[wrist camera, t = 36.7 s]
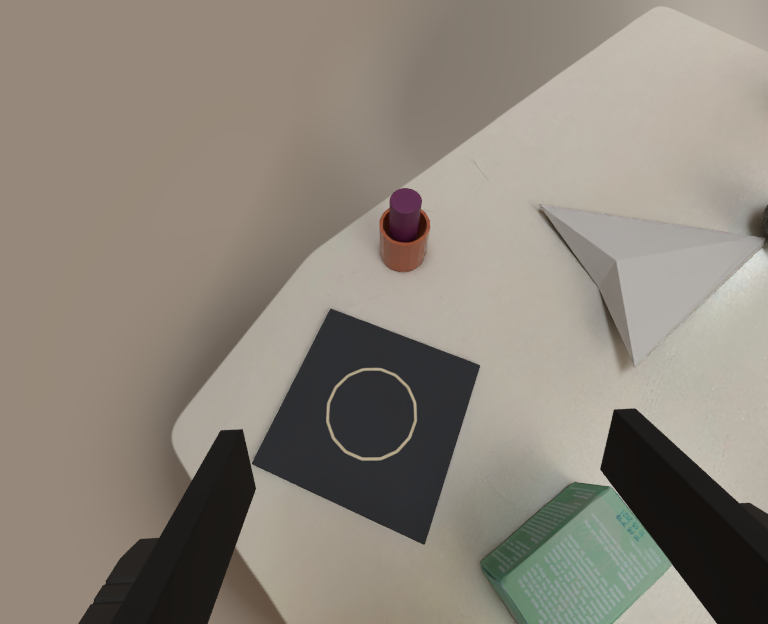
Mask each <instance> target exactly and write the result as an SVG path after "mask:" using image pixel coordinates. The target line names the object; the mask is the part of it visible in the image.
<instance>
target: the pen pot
mask: <svg viewBox="0 0 768 624" xmlns="http://www.w3.org/2000/svg"><path fill="white" fill-rule="evenodd" d="M389 217H390V208H389V209H388V210H386V211H385V212H384V213H383V215H382V217H381V219H380V255H381V258H382V261H383V262H384V264H385V265H386V266H387V267H389V268H390V269H392V270H395V271H399V272H407V271H411V270H414V269H415V268H417V267H418V266H419V265H420V264H421V263H422V262H423V260H424V256H425V253H426V248H427V242H428V237H429V231H430V220H429V218H428V216H427V215H426V213H425V212H424V211H423V210H421V211H420V219H419V226H418V233H417V240H416V241H413V242H410V243H401V242H398V241H395V240H392V239H391V238H390V237H389Z"/></svg>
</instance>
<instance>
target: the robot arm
mask: <svg viewBox="0 0 768 624" xmlns="http://www.w3.org/2000/svg"><path fill="white" fill-rule="evenodd" d="M600 470H601V471H602V472H603V474H604V475H605V476H606V478H607V479H608V480H609V482H610V483H611V484H612V486H613V487H614V488H615V490H616V491H617V492H618V494H619V495H620V496H621V497H622V499H623V500H624V501H625V503H626V504H627V505H628V507H629V508H630V509H631V511H632V512H633V513H634V515H635V516H636V517H637V519H638V520H639V521H640V523H641V524H642V525H643V527H644V528H645V529H646V530H647V532H648V533H649V534H650V536H651V537H652V538H653V540H654V541H655V542H656V544H657V545H658V546H659V548H660V549H661V550H662V552H663V553H664V554H665V556H666V557H667V558H668V559H669V561H670V562H671V563H672V565H673V566H674V567H675V569H676V570H677V571H678V573H679V574H680V575H681V577H682V578H683V579H684V581H685V582H686V583H687V585H688V586H689V587H690V589H691V590H692V591H693V592H694V594H695V595H696V596H697V598H698V599H699V600H700V602H701V603H702V604H703V606H704V607H705V608H706V610H707V611H708V612H709V614H710V615H711V616H712V618H713V619H714V620H715V621H716V623H717V624H768V514H767V513H765V512H764V511H762V510H760V509H759V508H757V507H756V506H754V505H752V504H751V503H738V502H737V501H736V500H735V499H734V498H733V497H732V496H731V495H730V494H729V493H727V492H726V491H725V490H724V489H723V488H722V487H721V486H720V485H719V484H718V483H716V482H715V481H714V480H713V479H712V478H711V477H710V476H709V475H708V474H707V473H706V472H704V471H703V470H702V469H701V468H700V467H699V466H698V465H697V464H696V463H695V462H693V461H692V460H691V459H690V458H689V457H688V456H687V455H686V454H685V453H684V452H683V451H681V450H680V449H679V448H678V447H677V446H676V445H675V444H674V443H673V442H672V441H670V440H669V439H668V438H667V437H666V436H665V435H664V434H663V433H662V432H661V431H660V430H658V429H657V428H656V427H655V426H654V425H653V424H652V423H651V422H650V421H649V420H647V419H646V418H645V417H644V416H643V415H642V414H641V413H640V412H639V411H638V410H636V409H616V410H614V412H613V416H612V421H611V425H610V429H609V434H608V438H607V442H606V447H605V451H604V455H603V460H602V464H601V468H600ZM255 490H256V487H255V482H254V478H253V473H252V469H251V464H250V460H249V455H248V451H247V446H246V442H245V437H244V433H243V429H240V430H221V431H220V433H219V434H218V436H217V438H216V440H215V441H214V443H213V445H212V447H211V448H210V450H209V452H208V454H207V455H206V457H205V459H204V461H203V462H202V464H201V466H200V468H199V469H198V471H197V473H196V475H195V476H194V478H193V480H192V482H191V483H190V485H189V487H188V489H187V490H186V492H185V494H184V496H183V498H182V499H181V501H180V503H179V504H178V506H177V508H176V510H175V512H174V513H173V515H172V517H171V518H170V520H169V522H168V524H167V525H166V527H165V529H164V531H163V532H162V534H161V536H160V538H151V539H150V538H149V539H140V540H139V541H138V542H137V543H136V544H135V545H133V546H132V547H131V548H130V549H129V550H128V551H127V552H126V554H124V555H123V556H122V557H121V558H120V560H119V561H118V563H117V564H116V566H115V567H114V569H113V571H112V572H111V574H110V575H109V577H108V578H107V580H106V584H105V585H103V586H102V588H101V589H100V591H99V592H98V594H97V596H96V597H95V599H94V603H93V604H92V605H90V606H89V608H88V610H87V611H86V613H85V614H84V616H83V617H82V619H81V620H80V622H79V624H208V621H209V618H210V615H211V613H212V610H213V607H214V604H215V601H216V599H217V596H218V593H219V590H220V588H221V585H222V582H223V579H224V576H225V574H226V571H227V568H228V565H229V562H230V559H231V557H232V554H233V551H234V548H235V546H236V543H237V540H238V537H239V535H240V532H241V529H242V526H243V523H244V521H245V518H246V515H247V512H248V509H249V507H250V504H251V501H252V498H253V495H254V493H255Z"/></svg>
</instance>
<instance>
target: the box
mask: <svg viewBox="0 0 768 624" xmlns="http://www.w3.org/2000/svg"><path fill="white" fill-rule="evenodd" d="M480 563H481V567H482V570H483V572H484V574H485V576H486V577H487V578H488V580H489V581H490V583H491V584H492V586H493V587H494V589H495V590H496V592H497V593H498V595H499V596H500V598H501V599H502V601H503V602H504V604H505V605H506V607H507V609H508V610H509V612H510V613H511V615H512V616H513V618H514V619H515V621H516V622H517V624H613V623H614V622H615V621H616V620H617V619H618V618H619V617H620V616H621V615H622V614H623V613H624V612H625V611H626V610H627V609H628V608H629V607H630V606H631V605H632V604H633V603H634V602H635V601H636V600H637V599H638V598H640V597H641V596H642V595H643V594H644V593H645V592H646V591H647V590H648V589H649V588H650V587H651V586H652V585H653V584H654V583H655V582H656V581H657V580H658V579H659V578H660V577H661V576H662V575H663V574H664V573H665V572H666V571H667V570H668V569H669V567H670V566H671V565H672V563H671V562H670V561H669V559H668V558H667V557H666V556H665V554H664V553H663V552H662V550H661V549H660V548H659V546H658V545H657V544H656V542H655V541H654V540H653V538H652V537H651V536H650V534H649V533H648V532H647V530H646V529H645V528H644V527H643V525H642V524H641V523H640V522H639V520H638V519H637V518H636V517H635V516H634V514H633V513H632V512H631V511H630V509H629V508H628V507H627V506H626V504H625V503H624V502H623V501H622V499H621V498H620V497H619V496H618V494H617V493H616V492H615V491H614V490H613V489H612V488H611V487H609V486H601V485H593V484H585V483H577V482H574V483H573V484H571V485H570V486H569V487H567V488H566V489H565V490H564V491H563V492H561V493H560V494H559V495H558V496H557V497H556V498H554V499H553V500H552V501H551V502H549V503H548V504H547V505H546V506H545V507H543V508H542V509H541V510H540V511H539V512H537V513H536V514H535V515H534V516H533V517H532V518H531V519H529V520H528V521H527V522H526V523H525V524H524V525H523V526H521V527H520V528H519V529H518V530H517V531H516V532H515V533H513V534H512V535H511V536H510V537H509V538H508V539H507V540H506V541H504V542H503V543H502V544H501V545H500V546H499V547H498V548H496V549H495V550H494V551H493V552H492V553H490V554H489V555H488V556H487V557H486V558H485V559H483V560H482V561H481V562H480Z"/></svg>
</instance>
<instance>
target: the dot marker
mask: <svg viewBox="0 0 768 624" xmlns="http://www.w3.org/2000/svg"><path fill="white" fill-rule="evenodd" d="M421 204H422V200H421V197H420V195H419V194H418V193H417V192H416V191H414V190H412V189H408V188H402V189H399V190H397V191H395V192H394V193H393V194H392V195H391V197H390V217H389V237H390V238H391V239H392V240H395V241H398V242H401V243H410V242H413V241H416V240H417V233H418V226H419V219H420V211H421Z"/></svg>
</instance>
